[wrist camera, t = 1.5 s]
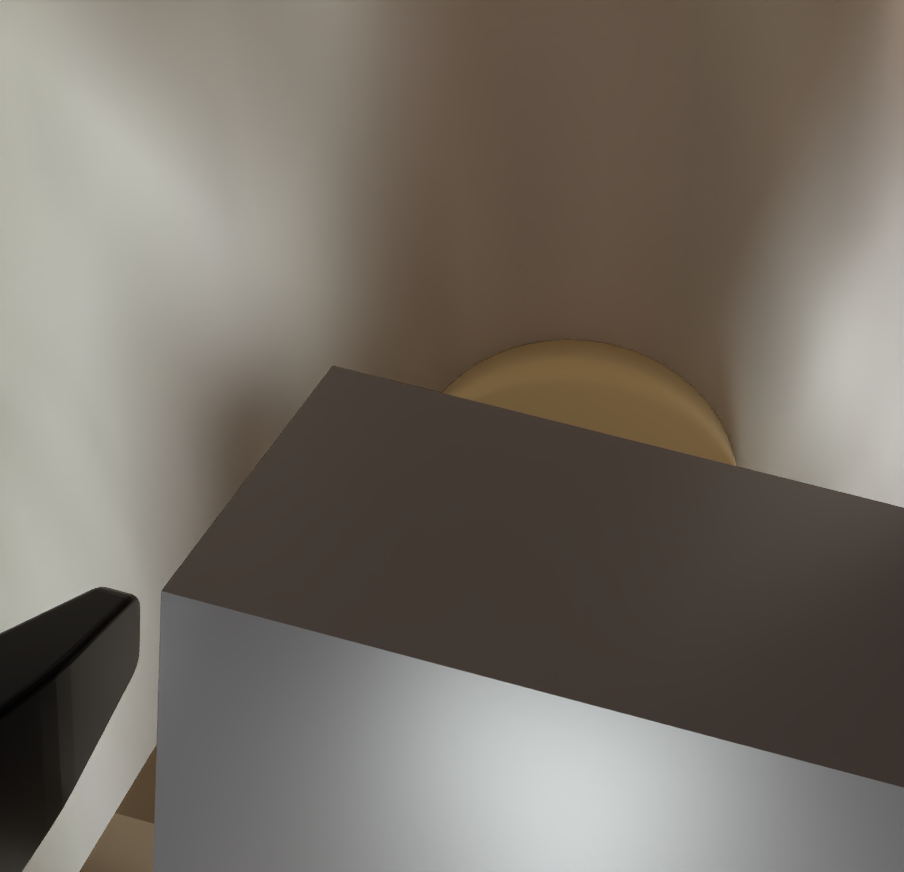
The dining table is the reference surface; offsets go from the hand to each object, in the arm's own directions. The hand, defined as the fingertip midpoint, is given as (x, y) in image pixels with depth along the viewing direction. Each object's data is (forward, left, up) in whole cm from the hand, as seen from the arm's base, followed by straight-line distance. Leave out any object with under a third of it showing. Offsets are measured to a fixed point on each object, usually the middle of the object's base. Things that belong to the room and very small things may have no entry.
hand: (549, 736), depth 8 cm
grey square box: (0, 0, -5) cm, 5 cm away
